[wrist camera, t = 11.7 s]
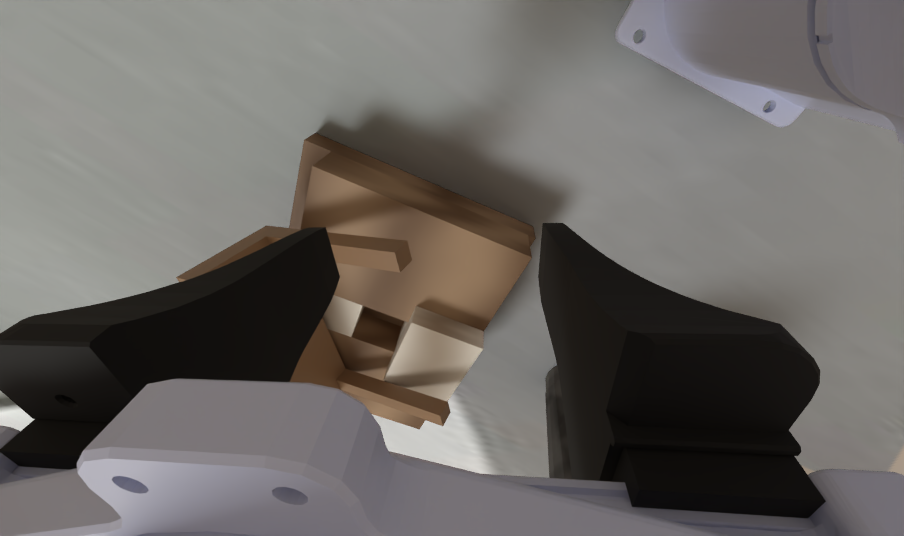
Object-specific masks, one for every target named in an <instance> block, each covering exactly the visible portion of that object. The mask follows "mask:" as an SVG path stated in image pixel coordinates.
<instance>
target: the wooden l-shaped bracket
mask: <svg viewBox="0 0 904 536" xmlns="http://www.w3.org/2000/svg"><path fill="white" fill-rule="evenodd" d="M300 230H302V229H292V228H283V227H273V226H265V227H263V228H262V229H260V230H258V231H256V232H255V233H253V234H251V235H249V236H248V237H246V238H244V239H242V240H241V241H239V242H237V243H235V244H234V245H232V246H230V247H228V248H227V249H225V250H223V251H221V252H220V253H218V254H216V255H214V256H213V257H211V258H209V259H207V260H206V261H204V262H202V263H201V264H199V265H197V266H195V267H194V268H192V269H190V270H188V271H187V272H185V273H183V274H181V275H180V276H178V277H176V278H177V279H178V281H179V282H182V281H185V280H188V279H191V278H194V277H197V276H199V275H202V274H205V273H208V272H210V271H213V270H215V269H218V268H220V267H223V266H225V265H227V264H229V263H232V262H234V261H236V260H238V259H240V258H243V257H245V256H247V255H249V254H251V253H253V252H256V251H258V250H260V249H262V248H264V247H266V246H268V245H270V244H272V243H274V242H276V241H278V240H280V239H282V238H284V237H286V236H288V235H291V234H293V233H295V232H297V231H300ZM327 233H328V237H329V240H330V244H331V247H332V251H333V254H334V258H335V261H336V263H341V264H348V265H354V266H361V267H367V268H374V269H380V270H387V271H393V272H401V271H402V270H403V269H404V268H405V267H406V266H407V265H408V264H409V263H410V262H411V261H412V257H411V253H410V249H409V245H408V241H405V240H396V239H386V238H377V237H368V236H358V235H349V234H339V233H330V232H327ZM290 382H300V383H312V384H317V385H322V386H327V387H332V388H337V389H339V390H344V391H346V392H349V393H352V394H355V395H358V396H360V397H363V398H366V399H369V400H371V401H374V402H377V403H380V404H383V405H385V406H388V407H391V408H394V409H397V410H399V411H402V412H405V413H408V414H410V415H413V416H416V417H419V418H422V419H424V420H427V421H430V422H433V423H436V424H438V425H441V426H443V425H444V423H445V421H446V419H447V418H448V416H449V414H450V409H449V405H448V402H447V401H444V400H441V399H438V398H435V397H432V396H429V395H425V394H422V393H419V392H416V391H413V390H410V389H407V388H404V387H401V386H398V385H394V384H391V383H388V382H385V381H382V380H379V379H376V378H373V377H370V376H367V375H363V374H360V373H357V372H354V371H351V370H348V369H346V368H345V366H344V364H343V362H342V360H341V357H340V355H339V353H338V351H337V349H336V346H335V344H334V342H333V340H332V338H331V335H330V333H329V331H328V329H327V327H326V324H325V322H324V320H323V318H322V319H321V321H320V323H319V324H318V326H317V328H316V330H315V332H314V333H313V335H312V337H311V339H310V340H309V342H308V344H307V346H306V348H305V349H304V351H303V353H302V355H301V357H300V359H299V361H298V363H297V366H296V368H295V370H294V373H293V375H292V378H291V380H290Z"/></svg>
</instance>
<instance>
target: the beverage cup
mask: <svg viewBox="0 0 904 536" xmlns="http://www.w3.org/2000/svg"><path fill="white" fill-rule="evenodd" d="M545 395H546V415H547V436H548V456H549V477H550V478H558V479H572V476H571V466H570V457H569V449H568V440H567V431H566V423H565V416H564V408H563V400H562V393H561V386H560V379H559V372H558V366H556V367H554V368H552V369H551V370H550V371H549V372H548V374H547V376H546V394H545Z"/></svg>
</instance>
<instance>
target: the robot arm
mask: <svg viewBox="0 0 904 536" xmlns="http://www.w3.org/2000/svg"><path fill="white" fill-rule="evenodd" d="M639 29H641V30H642V31H643V37H642V39H641V40H640V41H639V42H638V43H635V42H634V41H633V36H634V33H635V32H636V31H637V30H639ZM615 37H616V40H617V41H618V42H619V43H620V44H622V45H624V46H626V47H627V48H629V49H631V50H633V51H635V52H637V53H639V54H641V55H642V56H644V57H646V58H648V59H650V60H652V61H654V62H656V63H658V64H659V65H661V66H663V67H665V68H667V69H669V70H671V71H673V72H674V73H676V74H678V75H680V76H682V77H684V78H686V79H688V80H689V81H691V82H693V83H695V84H697V85H699V86H701V87H703V88H704V89H706V90H708V91H710V92H712V93H714V94H716V95H718V96H719V97H721V98H723V99H725V100H727V101H729V102H731V103H733V104H734V105H736V106H738V107H740V108H742V109H744V110H746V111H748V112H749V113H751V114H753V115H755V116H757V117H759V118H761V119H763V120H765V121H766V122H768V123H770V124H772V125H775V126H778V127H785V126H787V125H789V124H791V123H792V122H793V121H795V120H796V118H797V117H798V116H799V115H800V114H801V113H802V112H803V111H804V110H805V109H806V108H808V109H812V110H816V111H820V112H823V113H827V114H831V115H835V116H839V117H843V118H847V119H851V120H854V121H858V122H862V123H866V124H870V125H874V126H878V127H882V128H886V129H889V130H893V131H896V133H897V138H898V141H899V142H900V143H904V0H631V2H630V4H629V6H628V8H627V9H626V11H625V13H624V15H623V16H622V18H621V20H620V22H619V23H618V25H617V28H616V30H615ZM768 101H771V105H770V106H769V108H768V109H766V110H765V111H763V107H764V105H765V104H766V103H767V102H768ZM538 277H539V287H540V296H541V303H542V307H543V311H544V315H545V318H546V322H547V326H548V330H549V334H550V338H551V341H552V345H553V349H554V353H555V357H556V361H557V366H558V372H559V379H560V386H561V393H562V400H563V408H564V416H565V423H566V431H567V440H568V449H569V457H570V466H571V476H572V479H558V478H541V477H524V476H507V475H490V474H479V473H475V472H471V471H467V470H463V469H459V468H455V467H451V466H447V465H443V464H439V463H434V462H430V461H426V460H422V459H418V458H414V457H410V456H406V455H402V454H398V453H394V452H389V451H388V449H387V448H386V445H385V442H384V438H383V435H382V431H381V428H380V426H379V424H378V423H377V421H376V420H375V419H374V417H373V416H372V414H371V413H370V412H369V410H368V409H367V408H366V406H365V405H364V404H363V403H362V402H360V401H359V400H357V399H355V398H353V397H352V396H350V395H348V394H346V393H345V392H343V391H341V390H339V389H337V388H332V387H327V386H322V385H317V384H312V383H300V382H290V380H291V378H292V375H293V373H294V370H295V368H296V366H297V363H298V361H299V359H300V357H301V355H302V353H303V351H304V349H305V348H306V346H307V344H308V342H309V340H310V339H311V337H312V335H313V333H314V332H315V330H316V328H317V326H318V324H319V323H320V321H321V319H322V317H323V316H324V314H325V312H326V310H327V308H328V306H329V304H330V303H331V301H332V298H333V296H334V293H335V290H336V288H337V285H338V282H339V279H340V275H339V272H338V268H337V265H336V261H335V258H334V254H333V251H332V247H331V244H330V240H329V237H328V233H327V230H326V227H309V228H306V229H303V230H300V231H297V232H295V233H293V234H291V235H288V236H286V237H284V238H282V239H280V240H278V241H276V242H274V243H272V244H270V245H268V246H266V247H264V248H262V249H260V250H258V251H256V252H253V253H251V254H249V255H247V256H245V257H243V258H240V259H238V260H236V261H234V262H232V263H229V264H227V265H225V266H223V267H220V268H218V269H215V270H213V271H210V272H208V273H205V274H202V275H199V276H197V277H194V278H191V279H188V280H185V281H182V282H179V283H176V284H172V285H169V286H166V287H163V288H159V289H156V290H153V291H150V292H146V293H142V294H138V295H134V296H130V297H126V298H122V299H118V300H114V301H109V302H105V303H100V304H95V305H91V306H85V307H80V308H74V309H69V310H63V311H58V312H52V313H47V314H41V315H35V316H31V317H28V318H26V319H23V320H21V321H19V322H18V323H16V324H15V325H13V326H12V327H10V328H8V329H7V330H5V331H4V332H2V333H0V390H1V391H2V392H3V393H4V394H5V395H6V396H8V397H9V398H10V399H11V400H12V401H13V402H14V403H16V404H17V405H18V406H19V407H20V408H21V409H23V410H24V411H25V412H26V413H27V414H28V415H29V416H31V417H32V418H33V419H35V420H33V421H32V422H31V423H30V424H29V425H28V426H26V427H25V428H24V429H23V430H22V431H21V432H20V431H19V430H16V429H14V428H11V427H6V426H0V536H904V476H903V475H902V474H898V473H895V472H884V471H864V470H845V469H825V470H819V471H816V472H812V473H810V474H809V475H807V474H806V472H805V471H804V469H803V468H802V467H801V465H800V464H799V462H798V461H797V459H796V458H795V457H794V456H798V455H799V454H800V453H801V447H800V445H799V444H798V442H797V441H796V440H795V438H794V437H793V436H792V434H791V433H790V432H789V429H790V427H791V426H792V425H793V423H794V422H795V421H796V419H797V418H798V417H799V415H800V414H801V413H802V411H803V410H804V409H805V407H806V406H807V405H808V403H809V402H810V401H811V399H812V398H813V396H814V394H815V392H816V390H817V388H818V386H819V384H820V369H819V367H818V365H817V363H816V362H815V360H814V358H813V357H812V356H811V355H810V354H809V353H808V352H807V351H806V350H805V349H804V348H803V347H802V346H801V345H800V344H799V343H798V342H797V341H796V340H795V339H794V338H793V337H792V336H791V334H790V333H789V332H788V331H787V330H786V329H785V328H784V327H783V326H782V325H781V324H778V323H774V322H770V321H766V320H763V319H759V318H755V317H751V316H747V315H743V314H739V313H735V312H731V311H728V310H724V309H721V308H718V307H715V306H712V305H709V304H706V303H703V302H700V301H697V300H694V299H691V298H688V297H686V296H683V295H680V294H678V293H675V292H673V291H671V290H668V289H666V288H664V287H661V286H659V285H657V284H654V283H652V282H650V281H648V280H646V279H644V278H642V277H640V276H638V275H636V274H635V273H633V272H631V271H629V270H627V269H625V268H624V267H622V266H620V265H619V264H617V263H616V262H614V261H613V260H611V259H610V258H608V257H606V256H605V255H604V254H602V253H601V252H599V251H598V250H597V249H595V248H594V247H593V246H591V245H590V244H589V243H587V242H586V241H585V240H583V239H582V238H581V237H580V236H579V235H577V234H576V233H575V232H574V231H572V230H571V229H570V228H569V227H567V226H566V225H565V224H563V223H543V226H542V238H541V251H540V263H539V276H538Z"/></svg>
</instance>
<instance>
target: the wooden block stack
mask: <svg viewBox="0 0 904 536" xmlns="http://www.w3.org/2000/svg"><path fill="white" fill-rule="evenodd" d="M309 227H326V230H327V232H330V233H339V234H349V235H358V236H368V237H377V238H386V239H396V240H405V241H408V245H409V249H410V253H411V257H412V261H411V262H410V263H409V264H408V265H407V266H406V267H405V268H404V269H403V270H402V271H401V272H393V271H387V270H380V269H374V268H367V267H361V266H354V265H348V264H341V263H336V265H337V268H338V272H339V275H340V279H339V282H338V285H337V288H336V290H335V293H334V296H333V298H332V301H331V303H330V304H329V306H328V308H327V310H326V312H325V314H324V316H323V317H322V318H323V320H324V322H325V324H326V327H327V329H328V331H329V333H330V335H331V338H332V340H333V342H334V344H335V346H336V349H337V351H338V353H339V355H340V357H341V360H342V362H343V364H344V366H345V368H346V369H348V370H351V371H354V372H357V373H360V374H363V375H367V376H370V377H373V378H376V379H379V380H382V381H385V382H388V383H391V384H394V385H398V386H401V387H404V388H407V389H410V390H413V391H416V392H419V393H422V394H425V395H429V396H432V397H435V398H438V399H441V400H444V401H448V400H449V398H450V397H451V395H452V394H453V392H454V391H455V389H456V388H457V387H458V385H459V384H460V382H461V381H462V379H463V378H464V376H465V375H466V373H467V372H468V370H469V369H470V367H471V366H472V365H473V363H474V362H475V360H476V359H477V357H478V356H479V354H480V353H481V351H482V350H483V334H484V330H485V328H486V327H487V325H488V324H489V322H490V321H491V319H492V318H493V316H494V315H495V313H496V312H497V310H498V308H499V307H500V305H501V304H502V302H503V301H504V299H505V298H506V296H507V295H508V293H509V292H510V290H511V289H512V287H513V286H514V284H515V283H516V281H517V279H518V278H519V276H520V275H521V273H522V272H523V270H524V269H525V267H526V266H527V264H528V263H529V261H530V260H531V258H532V255H531V249H530V246H531V245H532V243H533V241H534V240H535V234H534V229H533V226H530V225H528V224H526V223H523V222H521V221H519V220H516V219H514V218H512V217H509V216H507V215H505V214H502V213H500V212H498V211H495V210H493V209H491V208H488V207H486V206H484V205H481V204H479V203H477V202H474V201H472V200H470V199H467V198H465V197H463V196H461V195H458V194H456V193H454V192H451V191H449V190H447V189H444V188H442V187H440V186H437V185H435V184H433V183H430V182H428V181H426V180H423V179H421V178H419V177H416V176H414V175H412V174H409V173H407V172H405V171H402V170H400V169H398V168H395V167H393V166H391V165H388V164H386V163H384V162H382V161H379V160H377V159H375V158H372V157H370V156H368V155H365V154H363V153H361V152H358V151H356V150H354V149H351V148H349V147H347V146H344V145H342V144H340V143H337V142H335V141H333V140H330V139H328V138H326V137H323V136H321V135H319V134H316V133H315V134H313V135H312V136H310V137H308V138H307V139H305V140H304V144H303V150H302V156H301V162H300V168H299V174H298V179H297V185H296V191H295V197H294V203H293V209H292V214H291V220H290V226H289V228H292V229H302V230H303V229H306V228H309ZM341 391H343V392H345V393H346V394H348V395H350V396H352V397H353V398H355V399H357V400H359V401H360V402H362V403H363V404H364V405H365V406H366V408H367V409H368V410H369V412H370V413H371V414H374V415H377V416H380V417H383V418H386V419H389V420H392V421H395V422H399V423H402V424H405V425H408V426H411V427H414V428H417V429H420V427H421V426H422V424H423V423H424V421H425V420H424V419H422V418H419V417H416V416H413V415H410V414H408V413H405V412H402V411H399V410H397V409H394V408H391V407H388V406H385V405H383V404H380V403H377V402H374V401H371V400H369V399H366V398H363V397H360V396H358V395H355V394H352V393H349V392H346V391H344V390H341Z"/></svg>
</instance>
